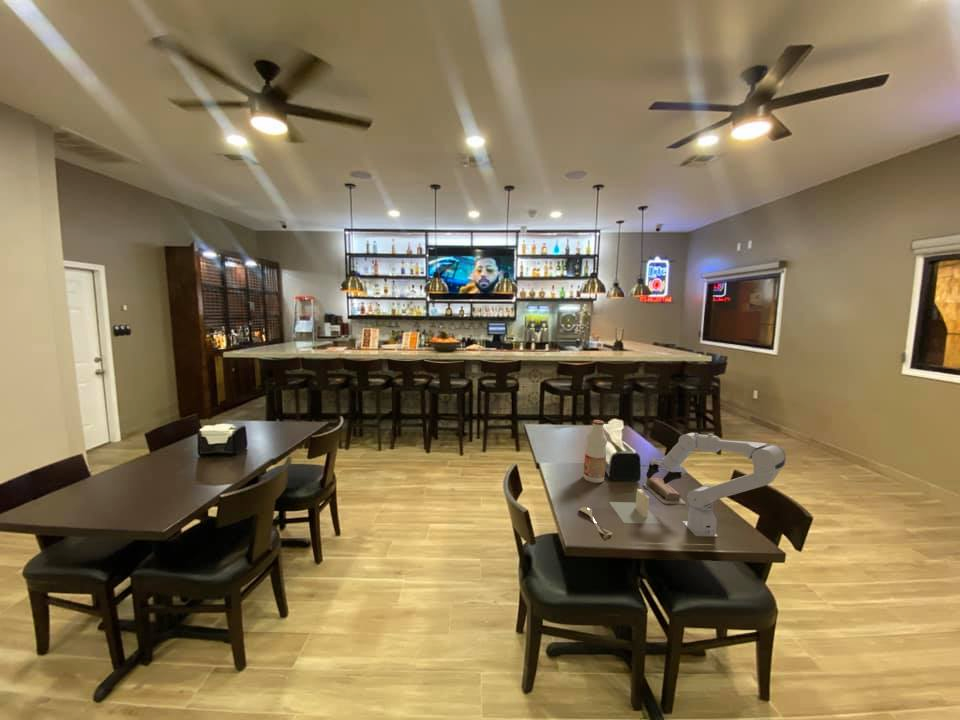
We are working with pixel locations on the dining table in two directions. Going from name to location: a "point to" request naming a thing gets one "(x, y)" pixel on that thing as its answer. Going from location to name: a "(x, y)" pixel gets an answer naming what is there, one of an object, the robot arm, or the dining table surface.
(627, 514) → the mat
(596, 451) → the fruit juice
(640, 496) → the deck
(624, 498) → the dining table surface
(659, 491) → the packaged product
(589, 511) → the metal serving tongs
